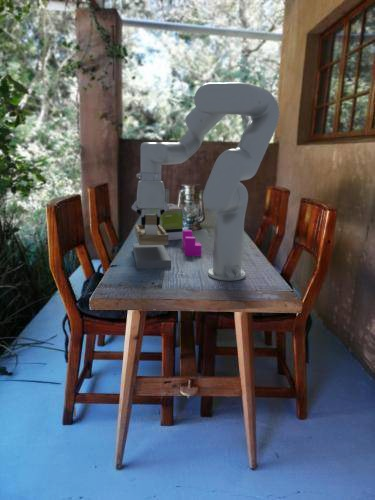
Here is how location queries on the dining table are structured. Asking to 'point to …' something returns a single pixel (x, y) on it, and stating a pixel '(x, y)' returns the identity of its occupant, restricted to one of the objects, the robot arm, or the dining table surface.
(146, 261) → the block
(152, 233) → the grey box
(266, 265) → the dining table surface
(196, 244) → the toy block
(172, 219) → the tea box
